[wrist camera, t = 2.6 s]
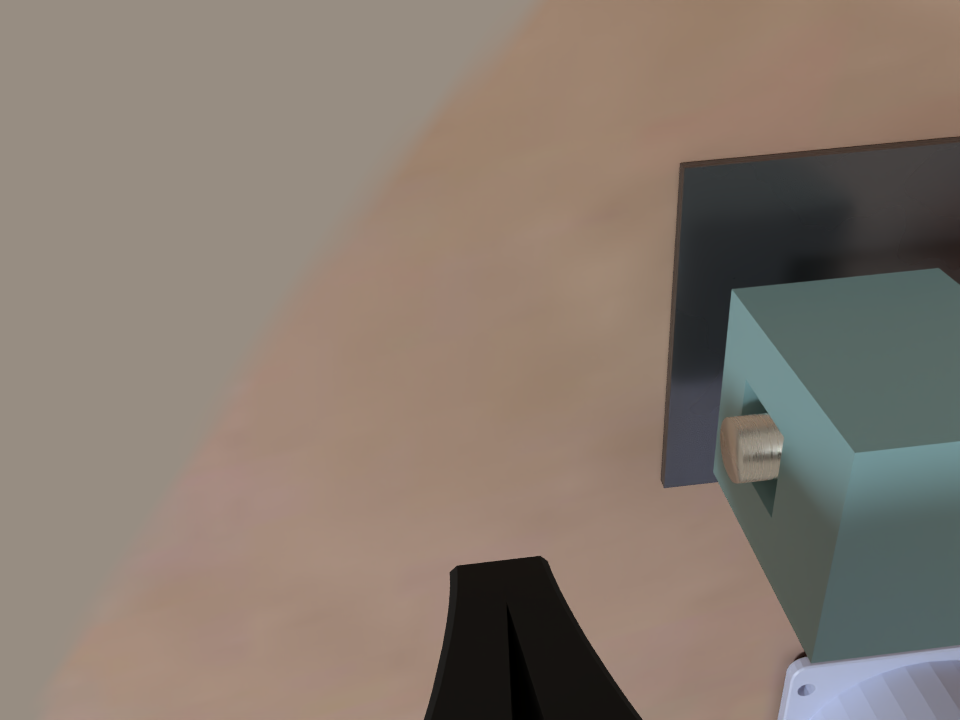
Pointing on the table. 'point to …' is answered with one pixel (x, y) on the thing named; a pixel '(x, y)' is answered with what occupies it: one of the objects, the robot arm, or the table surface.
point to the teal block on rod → (853, 456)
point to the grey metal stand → (787, 268)
